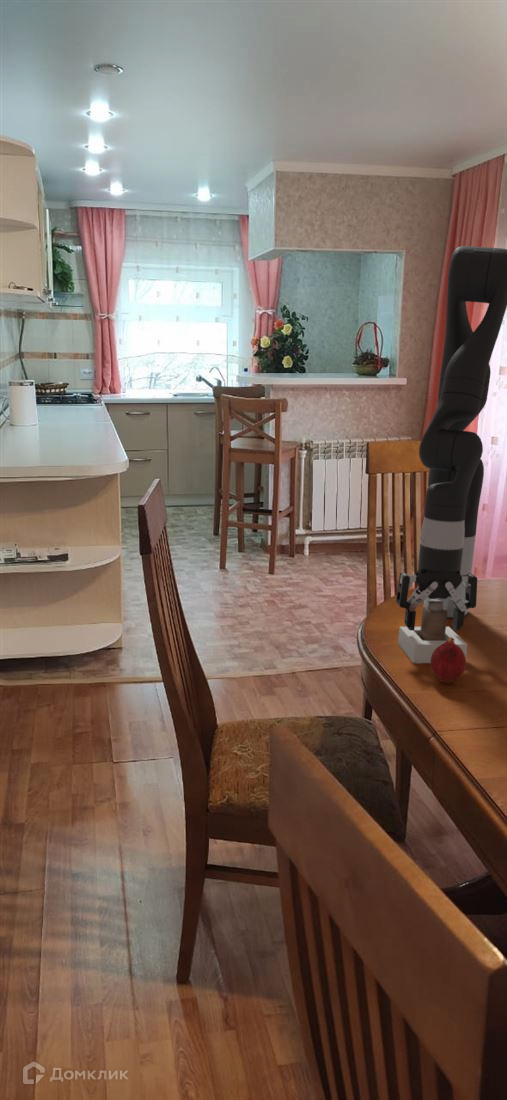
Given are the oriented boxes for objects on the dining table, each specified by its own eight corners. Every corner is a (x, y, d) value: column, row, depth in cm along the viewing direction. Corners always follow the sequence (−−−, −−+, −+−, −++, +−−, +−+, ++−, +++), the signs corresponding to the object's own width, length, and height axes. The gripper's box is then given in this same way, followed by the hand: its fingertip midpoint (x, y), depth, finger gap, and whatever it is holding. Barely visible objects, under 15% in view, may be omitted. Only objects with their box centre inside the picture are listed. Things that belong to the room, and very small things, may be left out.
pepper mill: (421, 647, 157) (426, 596, 155) (444, 651, 155) (450, 600, 153) (416, 655, 153) (421, 602, 151) (440, 659, 152) (446, 606, 149)
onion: (464, 691, 137) (469, 645, 136) (428, 687, 139) (433, 642, 137) (463, 678, 143) (467, 634, 141) (428, 674, 144) (432, 630, 142)
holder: (398, 644, 158) (399, 626, 157) (447, 644, 160) (448, 626, 159) (413, 663, 149) (415, 644, 148) (465, 662, 150) (467, 644, 149)
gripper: (409, 547, 145) (401, 636, 149) (488, 548, 147) (478, 636, 150) (396, 537, 152) (389, 622, 156) (472, 538, 154) (463, 622, 158)
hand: (433, 629), depth 153 cm, fingers open, 8 cm apart
